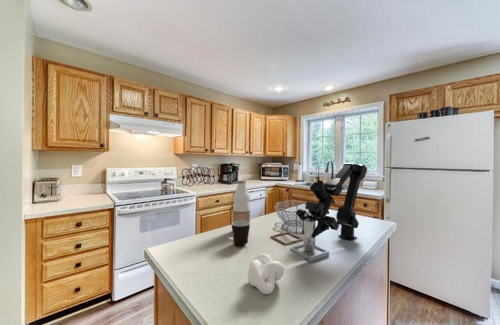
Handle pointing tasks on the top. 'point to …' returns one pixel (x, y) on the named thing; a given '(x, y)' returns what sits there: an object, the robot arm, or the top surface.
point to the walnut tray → (286, 238)
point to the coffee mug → (240, 233)
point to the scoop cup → (309, 234)
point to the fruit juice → (241, 203)
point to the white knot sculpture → (264, 273)
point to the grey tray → (312, 258)
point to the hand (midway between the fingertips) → (307, 235)
